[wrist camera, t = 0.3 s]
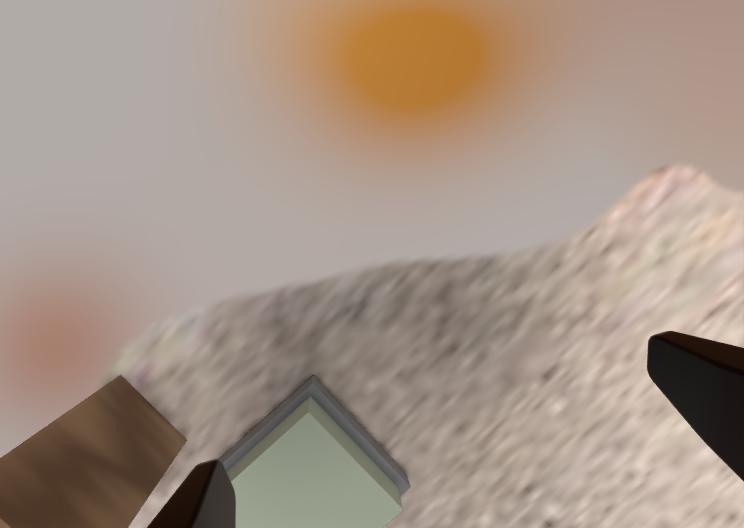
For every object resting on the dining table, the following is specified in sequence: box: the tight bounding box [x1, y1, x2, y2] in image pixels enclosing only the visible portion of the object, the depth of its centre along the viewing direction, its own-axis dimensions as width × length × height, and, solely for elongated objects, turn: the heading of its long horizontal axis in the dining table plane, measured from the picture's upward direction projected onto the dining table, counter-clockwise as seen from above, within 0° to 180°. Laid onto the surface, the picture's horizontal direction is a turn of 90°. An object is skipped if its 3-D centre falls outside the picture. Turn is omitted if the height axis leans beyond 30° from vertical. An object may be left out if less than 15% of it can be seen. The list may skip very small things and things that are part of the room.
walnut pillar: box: [0, 375, 187, 528], centre depth 18 cm, size 5×5×10 cm
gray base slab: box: [218, 375, 410, 496], centre depth 24 cm, size 8×8×2 cm
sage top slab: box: [226, 396, 403, 528], centre depth 22 cm, size 7×7×2 cm
